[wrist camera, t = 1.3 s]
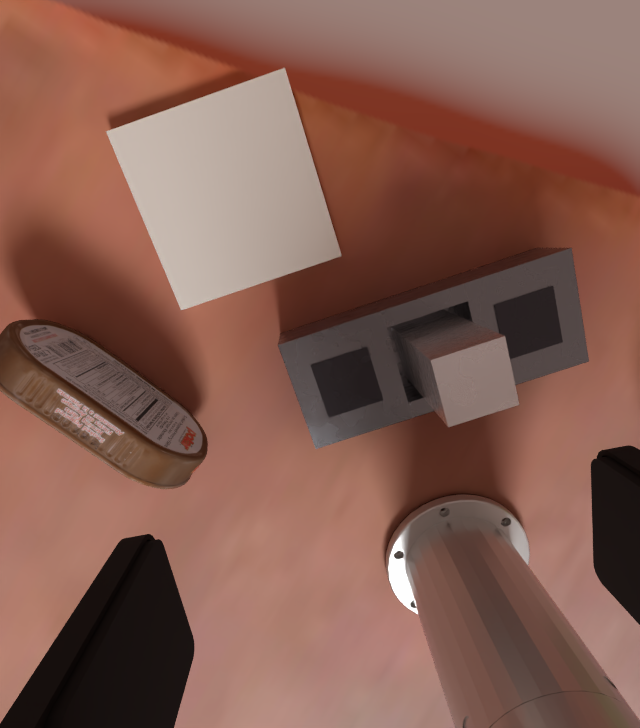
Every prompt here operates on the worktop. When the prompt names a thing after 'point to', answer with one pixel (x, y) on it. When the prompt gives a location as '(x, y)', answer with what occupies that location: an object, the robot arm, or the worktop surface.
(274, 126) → the pad
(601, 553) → the robot arm
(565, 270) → the grey compartment holder
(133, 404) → the tin
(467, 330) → the steel block
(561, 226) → the worktop surface
